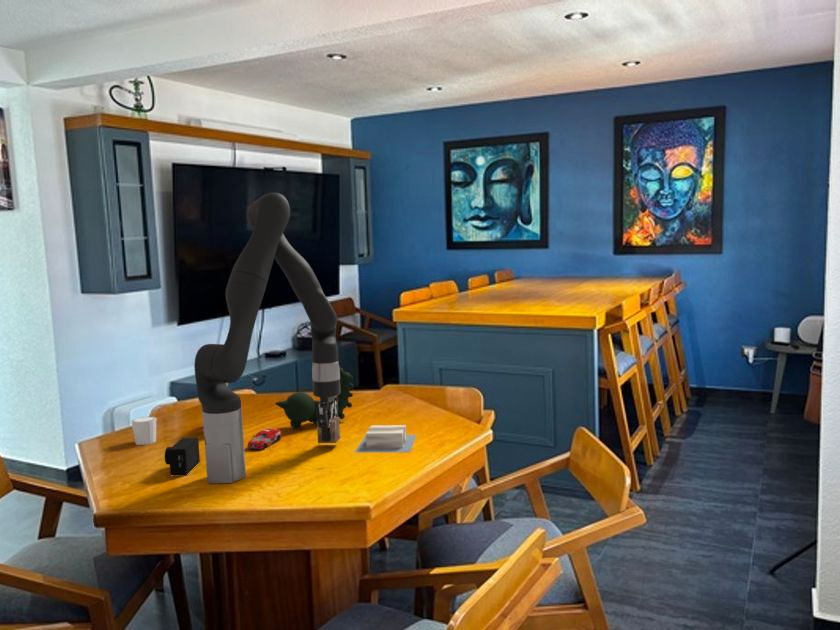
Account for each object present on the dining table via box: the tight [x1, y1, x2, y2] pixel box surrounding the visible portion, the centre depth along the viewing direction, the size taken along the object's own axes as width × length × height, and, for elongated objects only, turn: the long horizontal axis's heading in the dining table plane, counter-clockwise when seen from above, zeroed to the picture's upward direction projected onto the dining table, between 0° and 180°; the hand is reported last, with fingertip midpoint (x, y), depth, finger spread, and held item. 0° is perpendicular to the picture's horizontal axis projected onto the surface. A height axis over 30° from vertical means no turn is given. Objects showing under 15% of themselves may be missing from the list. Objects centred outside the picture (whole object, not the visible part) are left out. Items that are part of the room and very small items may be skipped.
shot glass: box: [131, 416, 157, 446], centre depth 205 cm, size 7×7×7 cm
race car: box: [247, 428, 282, 451], centre depth 199 cm, size 13×5×4 cm, turn 162°
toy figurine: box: [275, 366, 354, 430], centre depth 217 cm, size 9×19×25 cm
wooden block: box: [365, 424, 407, 448], centre depth 193 cm, size 8×10×4 cm
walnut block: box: [316, 417, 341, 444], centre depth 192 cm, size 5×5×6 cm
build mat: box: [354, 434, 418, 453], centre depth 193 cm, size 16×15×1 cm
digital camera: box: [164, 437, 201, 476], centre depth 179 cm, size 10×5×7 cm, turn 0°
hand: (329, 438), depth 192 cm, fingers closed on walnut block, 5 cm apart
